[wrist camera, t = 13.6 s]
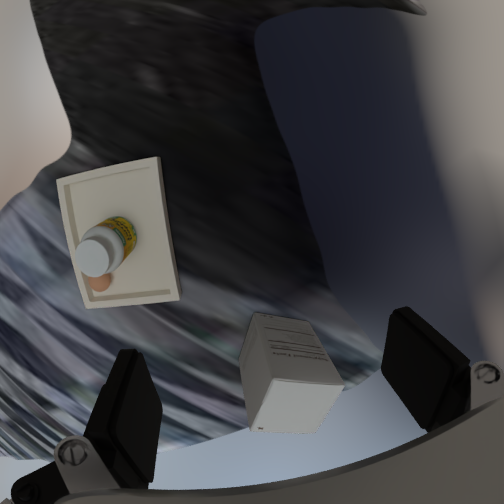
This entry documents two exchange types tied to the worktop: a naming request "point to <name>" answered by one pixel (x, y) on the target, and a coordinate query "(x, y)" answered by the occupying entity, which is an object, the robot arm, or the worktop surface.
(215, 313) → the worktop surface
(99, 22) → the worktop surface
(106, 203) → the tray
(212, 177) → the worktop surface
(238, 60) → the worktop surface
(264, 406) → the supplement box
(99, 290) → the ball
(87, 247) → the supplement bottle
